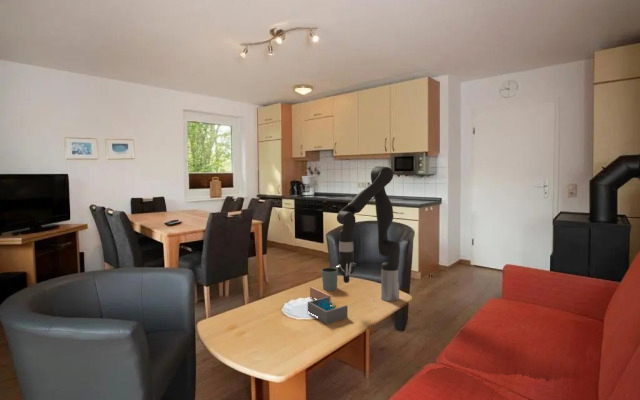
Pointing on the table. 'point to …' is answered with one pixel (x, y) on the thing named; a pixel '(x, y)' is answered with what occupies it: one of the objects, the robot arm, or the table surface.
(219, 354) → the table surface
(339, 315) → the housing
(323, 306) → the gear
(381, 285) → the robot arm
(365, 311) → the table surface
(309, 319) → the table surface
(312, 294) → the tan thin board
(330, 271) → the grey green cup
